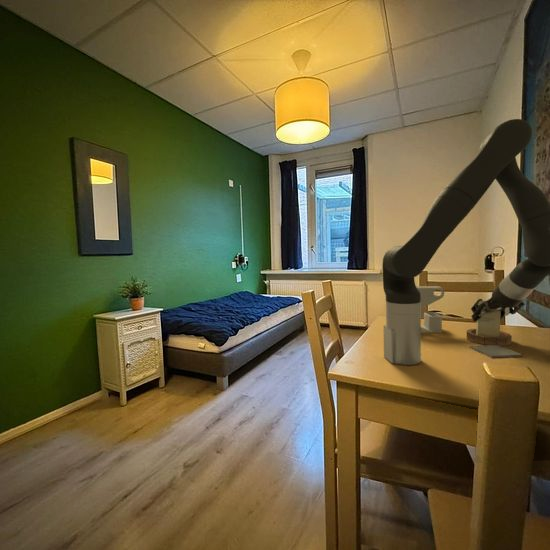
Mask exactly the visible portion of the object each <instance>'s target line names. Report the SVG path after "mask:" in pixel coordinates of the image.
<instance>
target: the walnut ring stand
mask: <svg viewBox="0 0 550 550" xmlns="http://www.w3.org/2000/svg"><path fill="white" fill-rule="evenodd" d="M512 339H513V338H512V334H511V333H509V332H506V331H502V330H500V337H487V336H481V335H476V328H469V329H466V340H468V341H470V342H472V343H475V344H479V345H499V346H502V347H504V346H509V345H512V341H513V340H512Z"/></svg>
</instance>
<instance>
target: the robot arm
mask: <svg viewBox="0 0 550 550" xmlns="http://www.w3.org/2000/svg"><path fill="white" fill-rule="evenodd" d="M532 137H533V129H532V126H531V125H530V123H529V122H528V121H527V120H524V119H520V118H513V119H509V120H507V121H504V122H503V123H501V124H499V125H498V126H496V127H495V128H494V129H493V130H492V131H490V133H489V134H488V135H487V136H486V138H484V140H483V141H482V142H481V144H480V146H479V150H478V152H479V153H478V154H477V155H476V157H474V158H473V160H472V161H471V162H470V163H468V165H466V166H465V167H464V168H463V169H462V170H461V171H460V172H459V173H457V174H456V176H455V177H453V178H452V180H451V181H450V182H449V183H448V184H447V185H446V186H445V187H444V188H443V189H442V190H441V191H440V193H439V194H438V195H437V196H436V198H435V199H434V200H433V202H431V204H430V206H429V208H428V211H427V213H426V214H425V215H426V216H425V217H424V220H423V222H422V224H421V226H420V227H419V229H418V230H417V231H416V232H415V233H414V234H413V235H412V236H411V237H410V238H409V240H407V241H406V242H405V243H404V244H403V245H395V246H393V247H390V248H389V249H387V251H386V252H385V253H384V255H383V258H382V265H381V266H382V286H383V292H384V294H385V325H383V357H384V358H385V359H387V361H389V362H390V363H391V364H396V365H405V366H414V365H419V364H420V363H421V361H422V353H421V351H422V349H421V347H422V343H421V342H422V337H421V336H422V335H421V334H422V333H421V325H422V324H421V323H422V316H421V295H420V292H419V291H418V289H417V288H416V286H417V285H416V281H415V278H416V277H418V276H419V275H420V274H421V273H422V272H423V271H424V270H425V268H427V265H428V264H429V263H430V261H431V259H433V257H434V256H435V254H436V253H437V251H438V250H439V248H440V247H441V245H442V244H443V243H444V242H445V241H446V240H447V238H448V237H450V235H451V234H452V233H453V232H454V231H455V229H456V228H457V227H458V226H459V224H461V223H462V221H463V220H464V219H465V218H466V217H467V216H468V215H469V213H471V211H472V210H474V208H475V207H476V205H477V204H478V202H480V200H481V199H482V198H483V196H484V195H485V194H486V192H487V191H488V189H490V187H491V185H492V184H493V183H494V181H495V180H496V182H497V183H498V185H499V186H500V188H501V190H502V191H503V192H504V194H505V196H506V198H507V199H508V201H509V202H510V204H511V207H512V209H513V211H514V213H515V216H516V218H517V220H518V222H519V225H520V227H521V229H522V243H523V248H524V249H523V250H524V254H525V255H526V257H527V258H526V259H524V260H522V261H520V262H519V263H518V264H517V265H516V266H515V267H514V269H512V271H511V272H509V274H507V275H506V276H505V277H504V278H503V279H502V280H501V281H500V282H499V284H497V286H495V288H494V289H493V290H492V293H491V297H490V298H488V299H487V300H483V299H482V298H478V299H477V301H476V302H475V303H474V304H473V306H471V307H470V310H471V312H472V315H471V316H470V317H471V319H472V322H476V323H477V321H478V320H479V319H480V318H481V317H482V315H484V314H486V313H487V314H490V313H492V312H494V311H501V316H500V321H501V320H502V319H503V318H505V317H506V316H509V315H510V314H511V315H515V314H516V313H517V312H518V311H520V309H522V308H524V306H525V305H526V304H525V302H524V301H525V300H526V299H527V298H528V297H529V296H530V295H531V293H533V291H534V290H535V288H537V287H538V286H539V285H540V284H541V283H542V282H543V281H544V280H545V278H546V277H548V276H549V275H550V201H549V199H548V198H547V196H546V194H545V193H544V191H542V190H541V188H539V187H538V186H537V185H535V183H533V182H532V181H531V180H530V179H528V178H527V177H526V176H525V174H524V173H523V172H522V171H521V168H520V167H519V165H518V162H517V158H516V157H518V155H520V154H521V152H523V151H524V150H525V149H526V148H527V147H528V146H529V144H530V142H531V139H532ZM487 305H488V307H489V309H490V310H488V309H487V308H486V306H487ZM482 309H483V310H484V311H483V312H481V310H482Z"/></svg>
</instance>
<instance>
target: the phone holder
mask: <svg viewBox="0 0 550 550" xmlns="http://www.w3.org/2000/svg"><path fill="white" fill-rule="evenodd" d="M416 288H417V289H418V291H419V292H420V295H421V317H422V315H423V324H421V334H442V333H443V326H442V325H443V321H442V320H443V318H442V315H441V314H439V313H437V312H435V311H425V312H424V313H423V309H424V308H425V307H428V306H430V305H432V304H434V303H435V302H437V301H439V300H441V299H442V298H444V296H445V290H444V289H443V288H442V286H439V285H427V286H426V285H424V286H423V285H422V286H421V285H418V286H417V285H416ZM437 290H438V291H441V292H440V293H439V294H437V295H435V292H436V291H437Z"/></svg>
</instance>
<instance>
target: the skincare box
mask: <svg viewBox="0 0 550 550" xmlns="http://www.w3.org/2000/svg"><path fill="white" fill-rule="evenodd" d="M486 308H487V309H488V310H490V309H489V307H488V305H487V306H486ZM483 311H484V310H483V309H482V310H481V312H483ZM500 316H501V311H494V312H492V313H490V314H487V313H486V314H484V315H482V317H481V318H480V319H479V320H478V321H477V322H476V327H475V329H476V335H481V336H487V337H500V331H501V320H500Z"/></svg>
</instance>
